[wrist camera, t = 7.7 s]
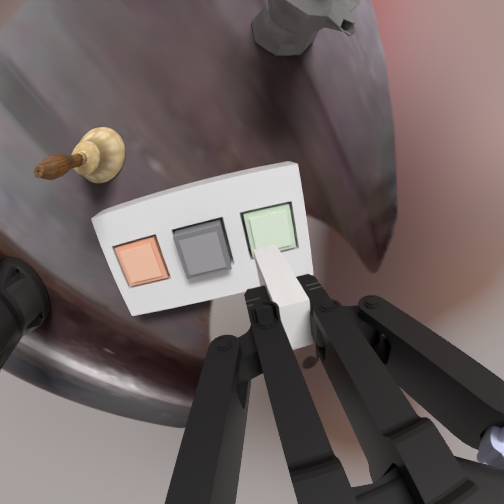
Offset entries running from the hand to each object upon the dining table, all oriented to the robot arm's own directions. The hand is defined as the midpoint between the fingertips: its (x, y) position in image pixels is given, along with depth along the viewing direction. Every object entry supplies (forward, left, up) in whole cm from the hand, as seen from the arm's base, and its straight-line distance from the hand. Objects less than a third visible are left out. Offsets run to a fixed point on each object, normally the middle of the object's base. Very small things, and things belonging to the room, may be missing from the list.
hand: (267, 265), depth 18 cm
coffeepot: (+11, +25, -23) cm, 35 cm away
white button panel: (-6, -4, -22) cm, 24 cm away
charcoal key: (-6, -4, -19) cm, 20 cm away
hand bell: (-18, +12, -23) cm, 31 cm away
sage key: (+3, -4, -21) cm, 21 cm away
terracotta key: (-15, -4, -21) cm, 26 cm away
